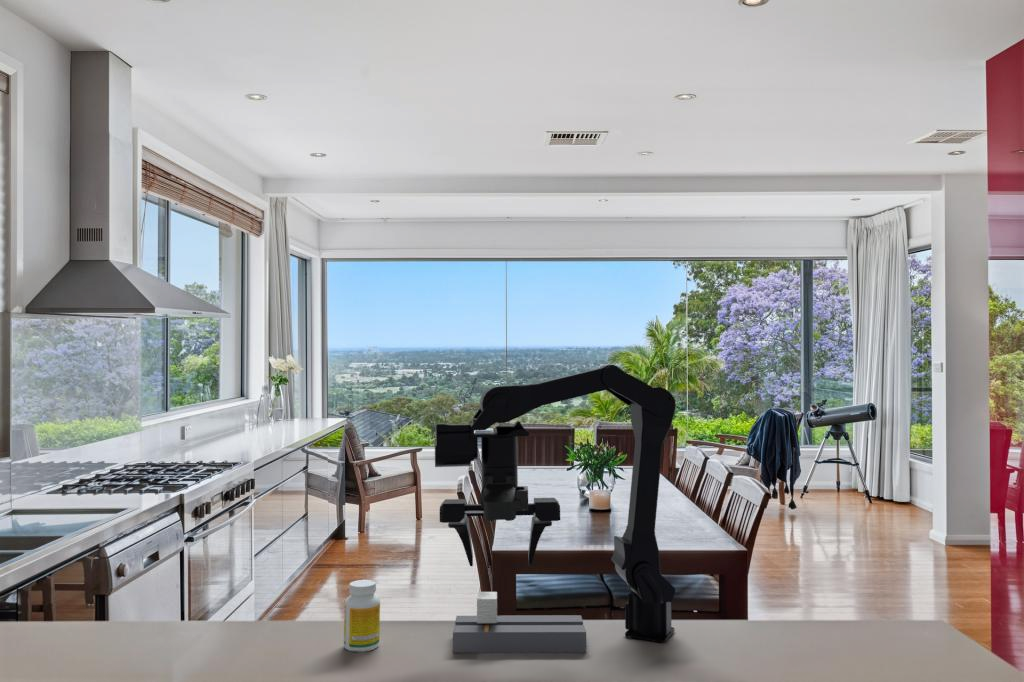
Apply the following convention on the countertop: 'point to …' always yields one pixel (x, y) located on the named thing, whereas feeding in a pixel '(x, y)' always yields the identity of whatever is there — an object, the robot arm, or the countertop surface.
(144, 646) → the countertop surface
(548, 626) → the fader console
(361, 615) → the supplement bottle
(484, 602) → the fader tab
